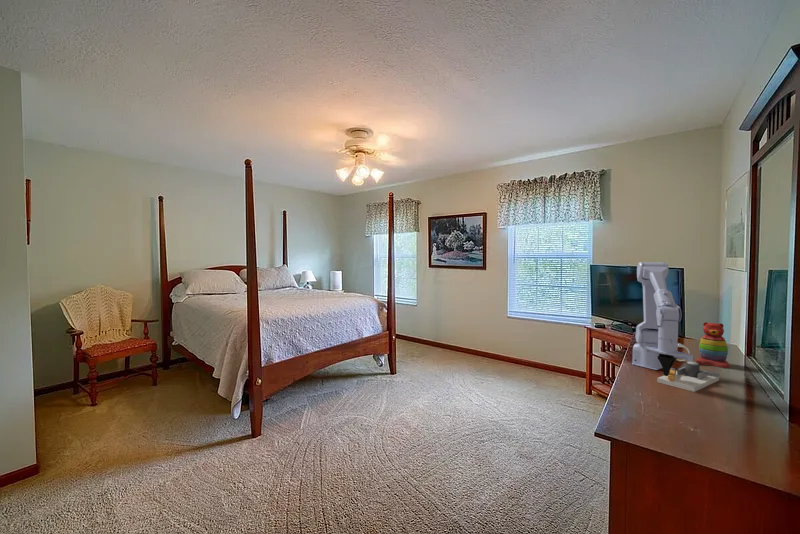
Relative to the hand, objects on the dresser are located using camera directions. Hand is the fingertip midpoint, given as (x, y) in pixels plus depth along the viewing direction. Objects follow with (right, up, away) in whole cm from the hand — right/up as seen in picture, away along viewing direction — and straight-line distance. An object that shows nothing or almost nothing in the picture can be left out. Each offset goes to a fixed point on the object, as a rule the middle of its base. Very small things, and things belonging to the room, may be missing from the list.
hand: (666, 375), depth 128 cm
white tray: (+9, -3, +1) cm, 9 cm away
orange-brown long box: (+3, 0, +1) cm, 3 cm away
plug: (+11, -1, +3) cm, 12 cm away
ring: (+26, -2, +27) cm, 38 cm away
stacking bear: (+38, -2, +23) cm, 44 cm away
